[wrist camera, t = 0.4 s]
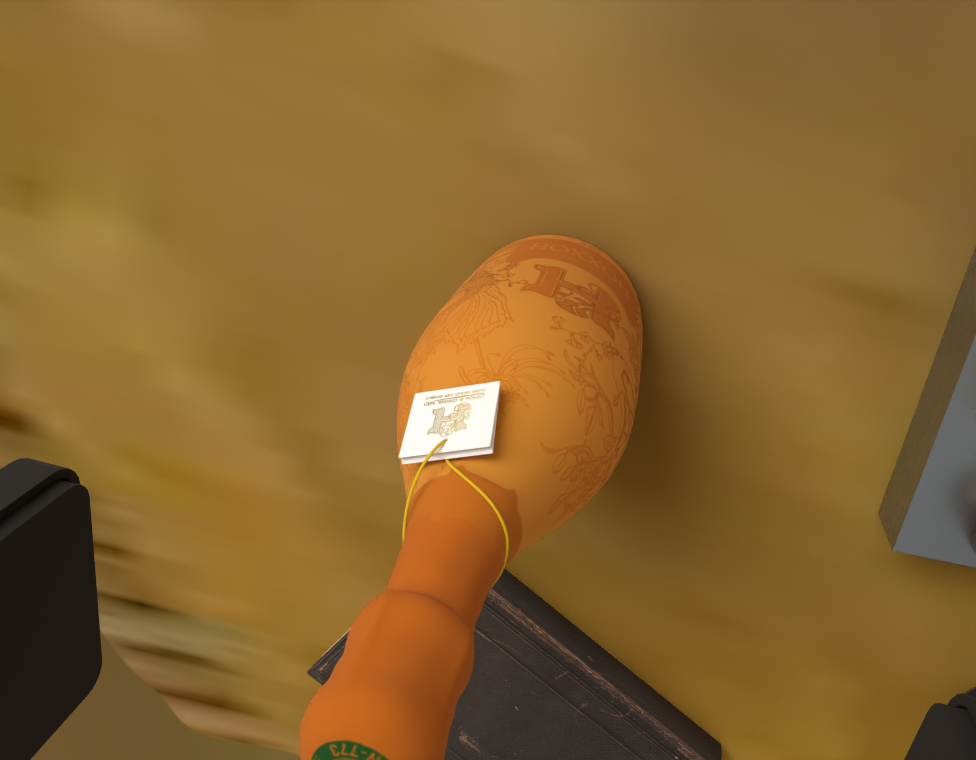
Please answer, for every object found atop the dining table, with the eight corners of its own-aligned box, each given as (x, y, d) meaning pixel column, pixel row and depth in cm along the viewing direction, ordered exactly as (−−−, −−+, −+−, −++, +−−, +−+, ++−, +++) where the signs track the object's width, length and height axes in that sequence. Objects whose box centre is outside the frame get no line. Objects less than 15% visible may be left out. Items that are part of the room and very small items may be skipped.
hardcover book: (562, 838, 61) (558, 866, 59) (319, 650, 59) (306, 673, 57) (721, 737, 54) (723, 766, 52) (453, 519, 52) (444, 540, 50)
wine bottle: (681, 277, 42) (674, 745, 15) (595, 427, 47) (474, 993, 20) (507, 192, 42) (202, 511, 16) (439, 350, 47) (108, 809, 20)
